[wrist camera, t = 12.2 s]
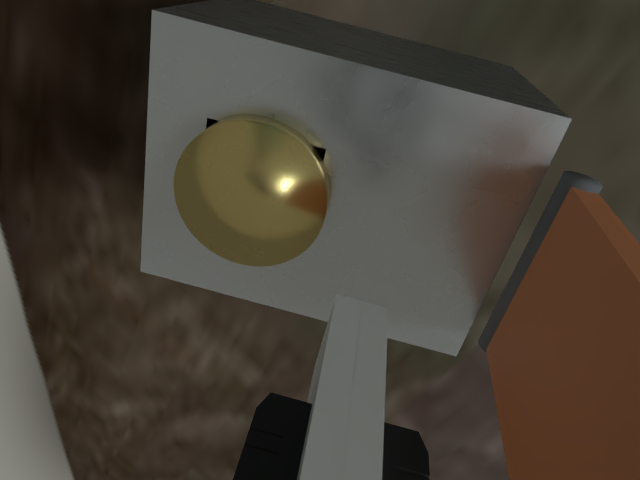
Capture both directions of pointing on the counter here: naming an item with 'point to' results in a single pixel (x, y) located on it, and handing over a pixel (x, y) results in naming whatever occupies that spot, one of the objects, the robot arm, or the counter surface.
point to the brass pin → (252, 190)
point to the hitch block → (353, 160)
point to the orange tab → (570, 344)
